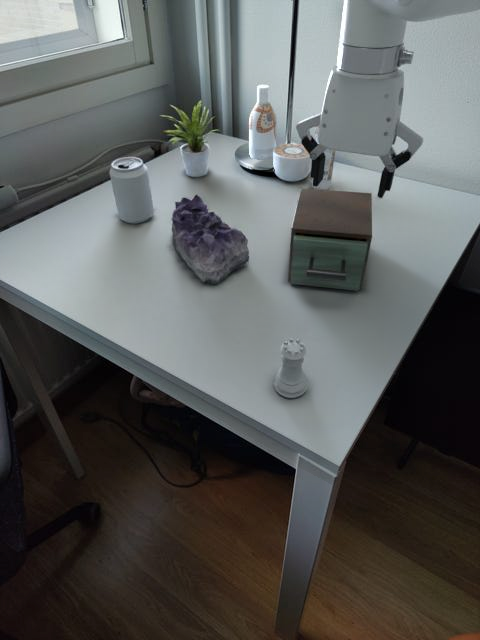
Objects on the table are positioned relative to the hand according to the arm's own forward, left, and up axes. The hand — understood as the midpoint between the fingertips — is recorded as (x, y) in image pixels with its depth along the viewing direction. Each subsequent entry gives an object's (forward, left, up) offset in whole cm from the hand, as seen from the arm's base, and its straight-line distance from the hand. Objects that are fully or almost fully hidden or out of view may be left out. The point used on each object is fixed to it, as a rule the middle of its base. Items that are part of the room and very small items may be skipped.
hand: (349, 188), depth 69 cm
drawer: (+2, -2, -17) cm, 17 cm away
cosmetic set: (+13, -41, -18) cm, 47 cm away
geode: (+25, -4, -18) cm, 31 cm away
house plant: (+37, -41, -18) cm, 58 cm away
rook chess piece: (+5, +25, -18) cm, 31 cm away
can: (+43, -16, -18) cm, 49 cm away
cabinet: (+2, -6, -18) cm, 19 cm away
